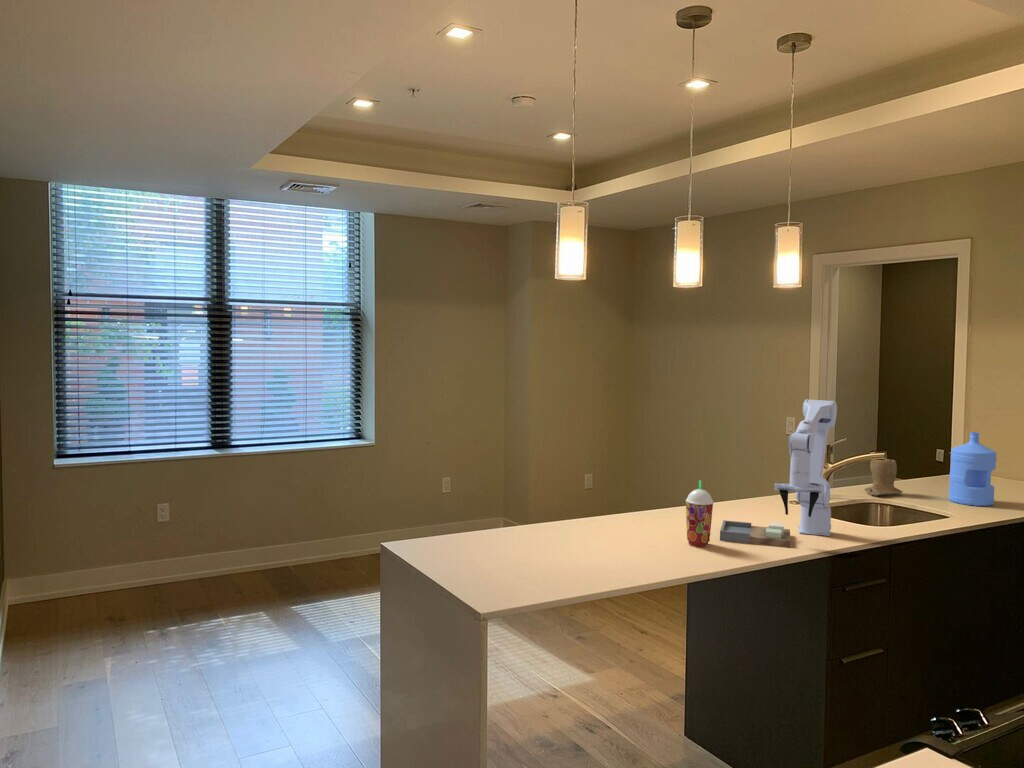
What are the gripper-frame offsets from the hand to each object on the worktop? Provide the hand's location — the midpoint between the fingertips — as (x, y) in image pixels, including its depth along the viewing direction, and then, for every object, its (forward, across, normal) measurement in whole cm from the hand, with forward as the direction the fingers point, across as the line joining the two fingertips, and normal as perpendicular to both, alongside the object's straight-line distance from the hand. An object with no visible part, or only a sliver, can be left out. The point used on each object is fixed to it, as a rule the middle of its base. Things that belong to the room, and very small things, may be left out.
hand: (798, 515), depth 240 cm
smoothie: (+10, -29, -11) cm, 33 cm away
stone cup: (+10, +35, +97) cm, 103 cm away
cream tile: (+7, -6, +6) cm, 11 cm away
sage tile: (+7, -7, 0) cm, 10 cm away
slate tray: (+9, -18, +4) cm, 21 cm away
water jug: (+10, +67, +94) cm, 116 cm away
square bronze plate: (+9, -8, +4) cm, 13 cm away
